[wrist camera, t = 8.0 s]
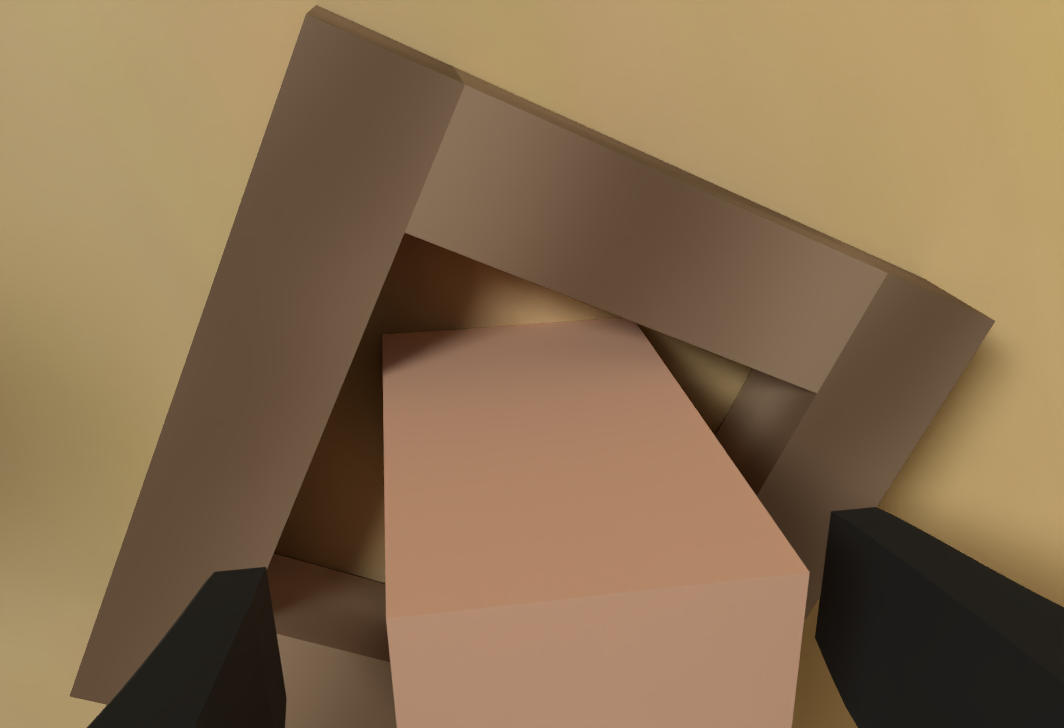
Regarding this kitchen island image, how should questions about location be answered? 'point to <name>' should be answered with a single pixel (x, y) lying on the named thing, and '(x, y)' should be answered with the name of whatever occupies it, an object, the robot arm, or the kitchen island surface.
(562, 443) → the peg
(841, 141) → the kitchen island surface
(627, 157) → the socket block
